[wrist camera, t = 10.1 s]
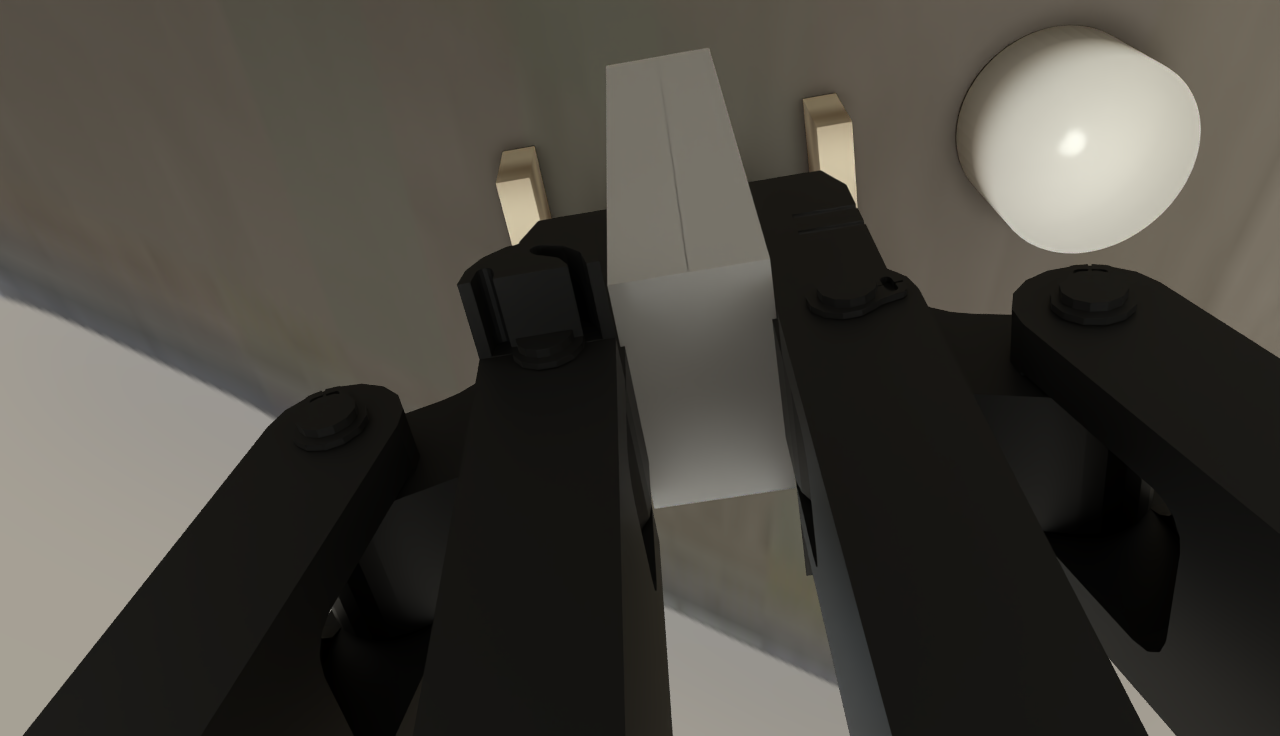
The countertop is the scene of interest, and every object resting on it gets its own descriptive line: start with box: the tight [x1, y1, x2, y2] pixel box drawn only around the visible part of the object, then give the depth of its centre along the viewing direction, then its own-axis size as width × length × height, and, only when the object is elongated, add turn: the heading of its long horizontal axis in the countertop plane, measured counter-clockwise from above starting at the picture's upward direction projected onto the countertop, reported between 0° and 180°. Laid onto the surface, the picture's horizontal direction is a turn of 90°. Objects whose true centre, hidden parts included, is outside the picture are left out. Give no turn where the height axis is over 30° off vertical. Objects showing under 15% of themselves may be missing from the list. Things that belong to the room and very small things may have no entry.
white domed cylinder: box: [956, 25, 1201, 253], centre depth 37 cm, size 7×7×4 cm
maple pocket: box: [496, 93, 857, 246], centre depth 40 cm, size 10×12×3 cm
